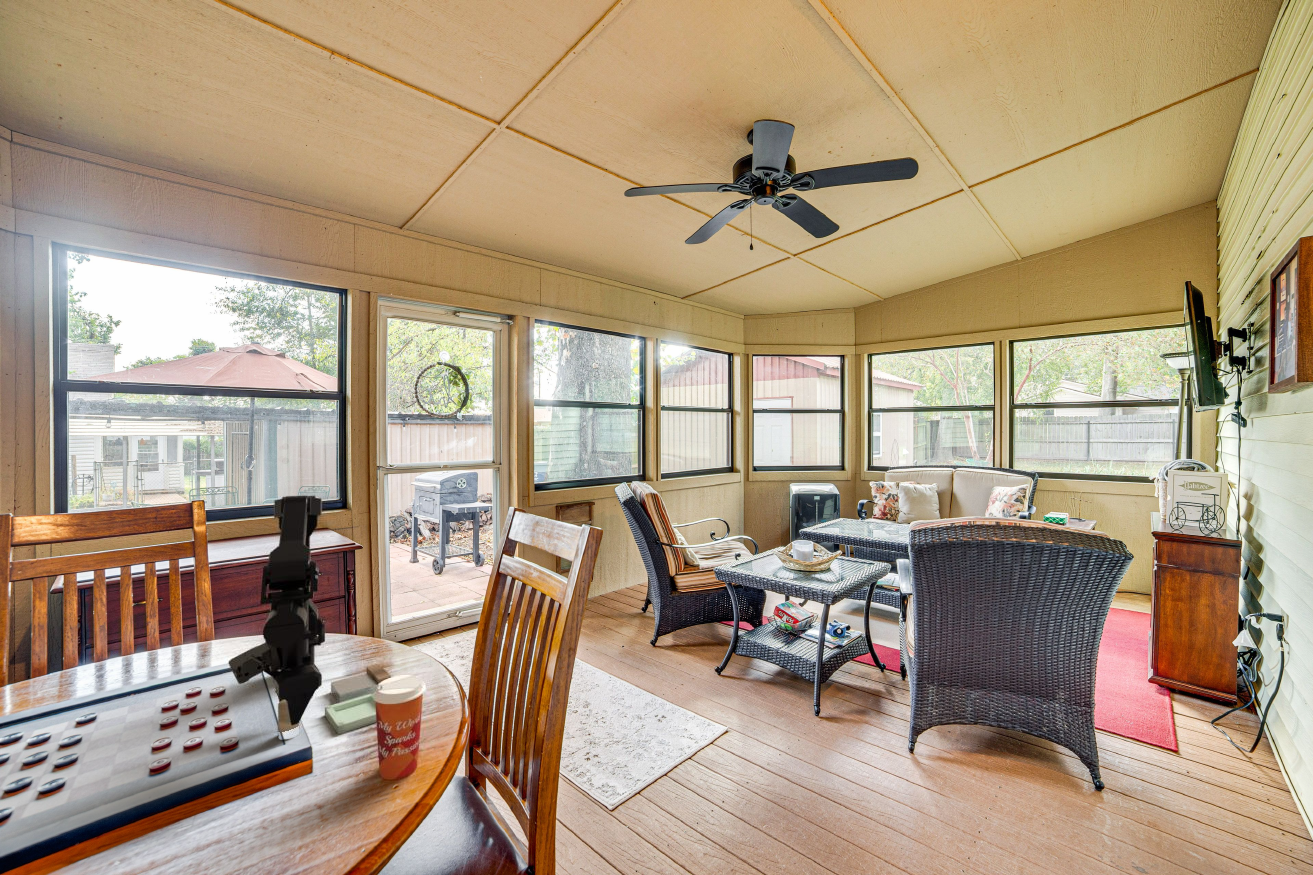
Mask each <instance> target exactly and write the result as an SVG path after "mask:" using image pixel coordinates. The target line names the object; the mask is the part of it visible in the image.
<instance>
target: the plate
mask: <svg viewBox="0 0 1313 875" xmlns="http://www.w3.org/2000/svg"><path fill="white" fill-rule="evenodd" d="M377 686H378V684H377V683H376V682H375V681H374V680H373V678H372V677H371V676H370V675H369V674H368V673H367V672H366V673H362V674H359V675H355V676H351V677H347V678H343V679H339V680H334V681H331V682H330V693H331V695H332V697H333V698H334V699H335V701H336V702H337V703H336V704H338V703H341V702H344V701H348V700H351V699H355V698H358V697H361V696H365V695H368V694H372V693H375V691H376V689H377Z"/></svg>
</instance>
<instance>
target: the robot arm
mask: <svg viewBox="0 0 1313 875" xmlns="http://www.w3.org/2000/svg"><path fill="white" fill-rule="evenodd" d="M273 502H274V503H273V505H274V506H273V518H274V519H275V520H277V519H278V529H279V531H280V533H279V534H280V535H279V542H278V546H276V547H275V548H274V549H273V550H271V551H270V552H269V556H268V560H267V561H268V562H267V564H264V565H263V566H262V567H263V568H262V578H261V589H260V590H261V591H260V600H259V601H260V605H265V604H267V605H268V604H269V614H268V616H267V618H266V622H265V624H264V627H263V629H262V636H263V639H264V641H265V642H264V643H262V644H259V645H257V646H254V647H251V648H250V649H248V650H246V651H243V652H242V653H240V654H238V655H237V656H235V657H232V658H231V659H230V660H228V662H227V663H228V665H229V667H230V670H231V672H232V674H233V676H234V677H235V679H236V681H237V683H238V685H242V684H245V683H247V682H249V681H250V680H251V679H252V678H254V677H255V676H258V675H259V674H261V673H263V672H264V673H266V674H267V675H269V676H270V677H271V678H272V680H273V685H274V688H275V691H274V692H275V694H276V696H277V698H278V703H279V702H280V701H282V700H286V704H287V709H288V714H289V718H290V723H291V725H296V724H298V723H299V724H300V722H301V719H302V718H303V715H304V714H305V711H306V709H307V707H308V706H309V703H310V701H311V699H312V698H313V696H314V694H315V693H316V691H317V690H319V688H320V687H321V686H322V684H323V682H322V679H323V678H322V677H323V675H322V673H321V672H320V669H319V667H318V666H317V665H316V664H315V657H316V656H315V652H316V651H315V648H316V646H321V645H322V644H323V643H325V642H326V623H324V622H323V620H322V617H318V616H319V608H318V607H317V605H316V603H314V602H313V600H312V599H314V598H315V592H318V591H319V572H320V571H319V569H320V568H319V566H318V565H317V562H315V560H311V559H312V558H311V557H312V556H311V555H312V554H311V536H312V535H313V533H314V532H315V530H316V528H317V527H318V523H319V518H320V517H323V514H322V513H323V500H322V498H318V497H316V495H286V496H282V497H281V498H278V499H275V500H274V501H273ZM268 591H269V592H268Z"/></svg>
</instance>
